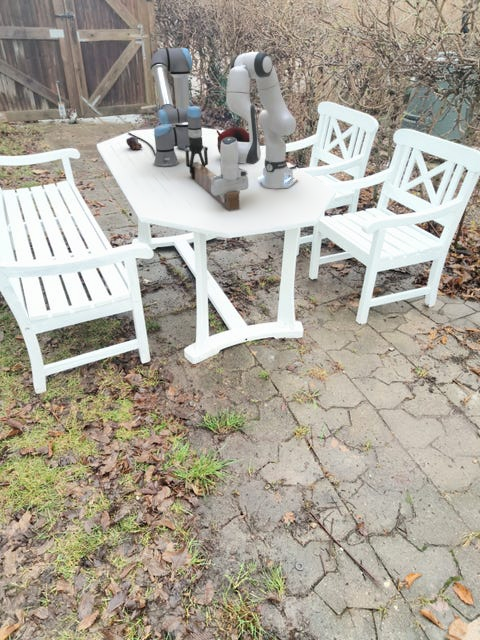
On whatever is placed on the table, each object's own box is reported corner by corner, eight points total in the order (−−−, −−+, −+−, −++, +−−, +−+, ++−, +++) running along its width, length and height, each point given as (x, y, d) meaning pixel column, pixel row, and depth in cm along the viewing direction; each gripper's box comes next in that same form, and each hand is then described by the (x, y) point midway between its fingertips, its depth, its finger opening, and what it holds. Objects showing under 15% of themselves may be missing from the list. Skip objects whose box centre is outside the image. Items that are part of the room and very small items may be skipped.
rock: (139, 148, 333) (125, 149, 329) (137, 135, 329) (123, 137, 325) (143, 149, 323) (130, 150, 319) (141, 136, 320) (128, 137, 316)
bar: (190, 176, 271) (189, 162, 266) (199, 175, 273) (198, 161, 268) (229, 210, 224) (229, 194, 220) (239, 208, 226) (239, 192, 222)
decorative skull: (214, 133, 304) (214, 130, 280) (248, 125, 303) (250, 121, 280) (221, 165, 311) (221, 165, 287) (254, 158, 310) (257, 157, 286)
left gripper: (181, 139, 249) (185, 181, 262) (213, 136, 255) (214, 177, 268) (177, 137, 254) (181, 178, 267) (208, 133, 260) (210, 174, 273)
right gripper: (214, 178, 213) (215, 206, 221) (250, 171, 222) (250, 198, 230) (208, 175, 218) (209, 202, 225) (243, 168, 227) (243, 195, 235)
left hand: (197, 177), depth 267 cm, fingers closed on bar, 5 cm apart
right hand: (230, 200), depth 228 cm, fingers closed on bar, 6 cm apart
